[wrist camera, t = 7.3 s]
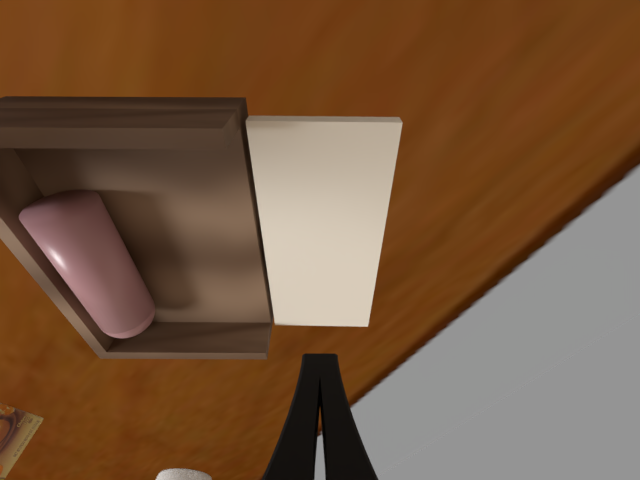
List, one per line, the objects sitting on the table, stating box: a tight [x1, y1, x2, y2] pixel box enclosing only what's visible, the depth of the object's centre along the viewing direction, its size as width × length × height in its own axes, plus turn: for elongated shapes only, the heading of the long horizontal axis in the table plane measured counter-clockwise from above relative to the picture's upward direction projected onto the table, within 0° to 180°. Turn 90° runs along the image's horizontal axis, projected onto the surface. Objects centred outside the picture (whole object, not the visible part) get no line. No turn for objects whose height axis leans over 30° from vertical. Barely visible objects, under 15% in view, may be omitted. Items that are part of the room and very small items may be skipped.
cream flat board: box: [246, 116, 403, 327], centre depth 19 cm, size 15×1×7 cm
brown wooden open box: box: [0, 96, 274, 359], centre depth 18 cm, size 16×12×4 cm
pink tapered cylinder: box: [19, 189, 155, 338], centre depth 18 cm, size 10×3×3 cm, turn 0°
